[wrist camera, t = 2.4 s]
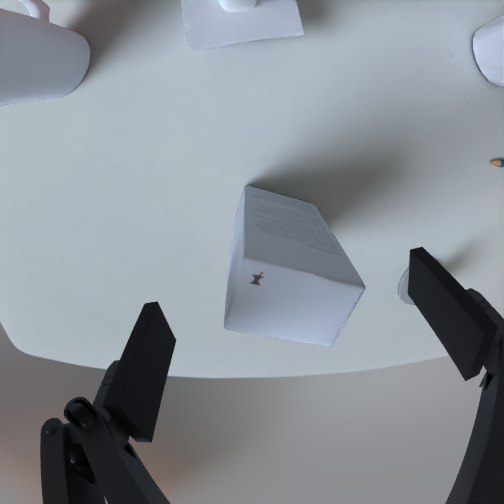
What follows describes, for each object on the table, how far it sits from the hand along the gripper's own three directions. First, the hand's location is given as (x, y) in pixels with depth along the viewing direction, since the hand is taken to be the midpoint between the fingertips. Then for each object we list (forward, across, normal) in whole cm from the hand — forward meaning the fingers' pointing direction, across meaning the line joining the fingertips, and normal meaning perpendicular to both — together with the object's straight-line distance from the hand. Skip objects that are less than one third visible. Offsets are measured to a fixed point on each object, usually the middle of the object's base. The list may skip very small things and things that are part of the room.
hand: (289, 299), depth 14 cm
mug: (+11, -14, +20) cm, 27 cm away
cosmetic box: (+11, 0, 0) cm, 11 cm away
